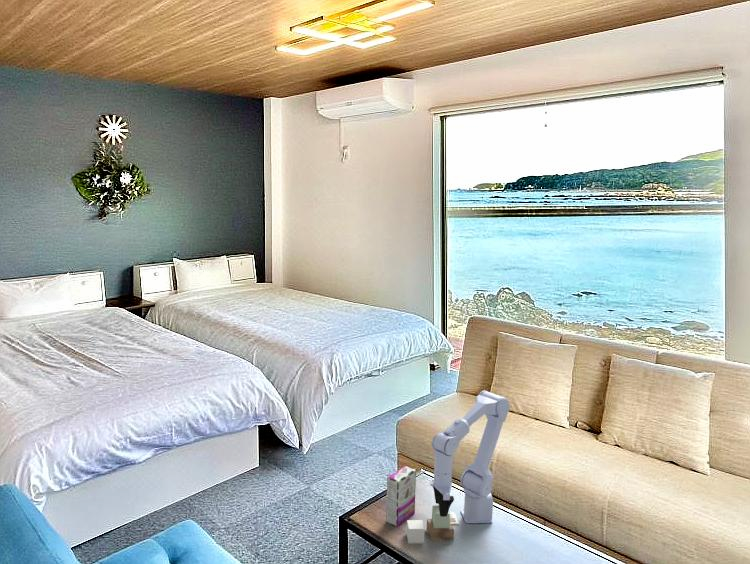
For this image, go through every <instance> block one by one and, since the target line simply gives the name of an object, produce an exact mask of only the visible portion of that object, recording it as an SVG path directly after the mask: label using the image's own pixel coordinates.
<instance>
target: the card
mask: <svg viewBox="0 0 750 564" xmlns="http://www.w3.org/2000/svg"><path fill="white" fill-rule="evenodd" d="M449 512H450V523H451V525H452V526H454V525H455V526H456V525H459V522H458V519H457V516H456V513H455V511H449ZM459 526H460V525H459Z"/></svg>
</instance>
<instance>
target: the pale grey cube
mask: <svg viewBox="0 0 750 564" xmlns="http://www.w3.org/2000/svg"><path fill="white" fill-rule="evenodd" d="M406 538H407V543H408V544H425V526H424V522H423V519H409V520H408V519H406Z"/></svg>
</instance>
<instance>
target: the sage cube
mask: <svg viewBox="0 0 750 564" xmlns="http://www.w3.org/2000/svg"><path fill="white" fill-rule="evenodd" d="M431 509H432V510H431V519H432V522H433V526H434V528H449V526H450V512H451V511H450V510H449V511H448V514H447V516H446V517H441V516H440V512H439V505H432V508H431Z"/></svg>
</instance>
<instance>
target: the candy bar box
mask: <svg viewBox="0 0 750 564" xmlns="http://www.w3.org/2000/svg"><path fill="white" fill-rule="evenodd" d="M416 478H417V469H415V468H412V467H409V466H407V465H404V466H403V467H400V469H398V470H397V471H395V472H393V473H392V474H390V475H389V476H387V477H386V480H387V481H386V519H385V520H386V522H385V523H388V524H390V525H392V526H394V527H399V526H400V525H401V524H403V523H404V522H405V521H407V520H408V519H409V518H410V517H412V516H413V515H414V514H415V513H416V512H415V511H416V484H417V482H416V480H417V479H416Z"/></svg>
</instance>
